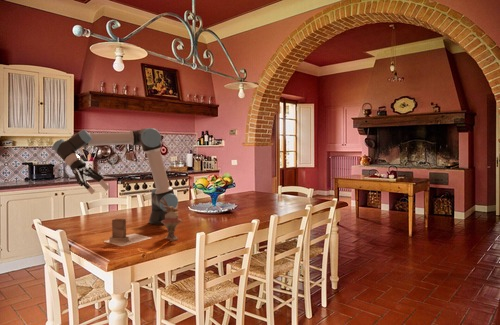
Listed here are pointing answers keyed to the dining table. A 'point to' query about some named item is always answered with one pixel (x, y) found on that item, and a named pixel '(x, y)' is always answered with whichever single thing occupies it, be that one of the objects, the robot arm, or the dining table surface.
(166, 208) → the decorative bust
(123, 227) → the block
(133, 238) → the marked board
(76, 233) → the dining table surface
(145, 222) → the dining table surface
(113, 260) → the dining table surface
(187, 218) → the dining table surface
